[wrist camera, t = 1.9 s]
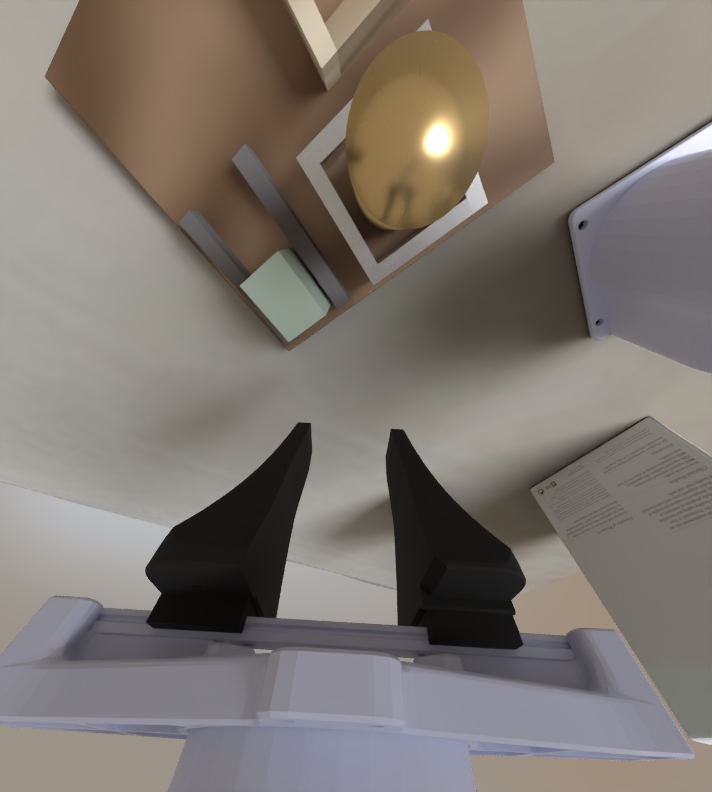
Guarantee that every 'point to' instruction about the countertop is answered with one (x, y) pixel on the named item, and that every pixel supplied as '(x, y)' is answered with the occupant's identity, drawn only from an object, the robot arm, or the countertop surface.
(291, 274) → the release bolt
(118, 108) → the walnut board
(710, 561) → the supplement box
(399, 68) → the brass cylinder plug
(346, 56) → the ash socket frame
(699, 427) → the countertop surface
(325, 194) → the steel socket
